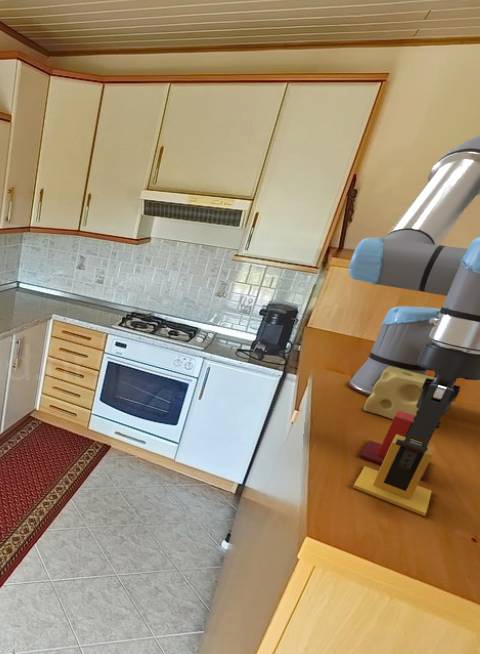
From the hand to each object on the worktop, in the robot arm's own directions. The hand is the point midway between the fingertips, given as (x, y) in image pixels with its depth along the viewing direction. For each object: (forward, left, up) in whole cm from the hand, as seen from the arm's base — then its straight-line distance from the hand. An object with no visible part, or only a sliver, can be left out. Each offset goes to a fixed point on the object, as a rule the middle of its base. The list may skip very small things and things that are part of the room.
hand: (400, 472), depth 78 cm
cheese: (-27, -37, -4) cm, 46 cm away
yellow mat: (0, 0, -4) cm, 4 cm away
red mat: (-9, -12, -4) cm, 15 cm away
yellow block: (0, 0, -3) cm, 3 cm away
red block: (-9, -12, -3) cm, 15 cm away
